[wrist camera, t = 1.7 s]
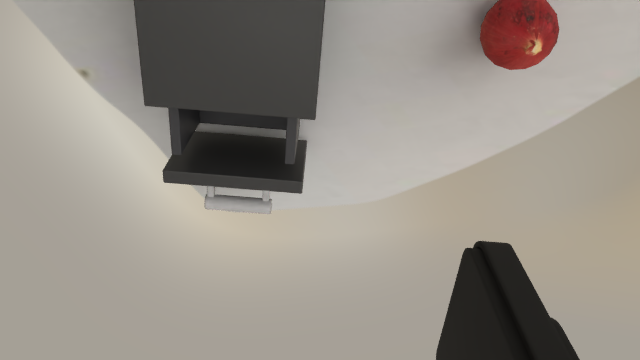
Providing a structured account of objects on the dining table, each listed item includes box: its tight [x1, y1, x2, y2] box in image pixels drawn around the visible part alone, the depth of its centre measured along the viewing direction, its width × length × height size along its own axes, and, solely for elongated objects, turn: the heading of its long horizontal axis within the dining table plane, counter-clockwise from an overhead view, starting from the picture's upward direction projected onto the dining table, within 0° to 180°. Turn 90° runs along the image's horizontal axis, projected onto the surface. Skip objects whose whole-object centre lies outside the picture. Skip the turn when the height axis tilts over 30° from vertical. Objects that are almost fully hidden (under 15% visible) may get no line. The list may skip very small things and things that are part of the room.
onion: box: [480, 0, 559, 70], centre depth 40 cm, size 6×6×8 cm
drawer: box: [163, 108, 307, 214], centre depth 43 cm, size 18×12×8 cm, turn 175°
